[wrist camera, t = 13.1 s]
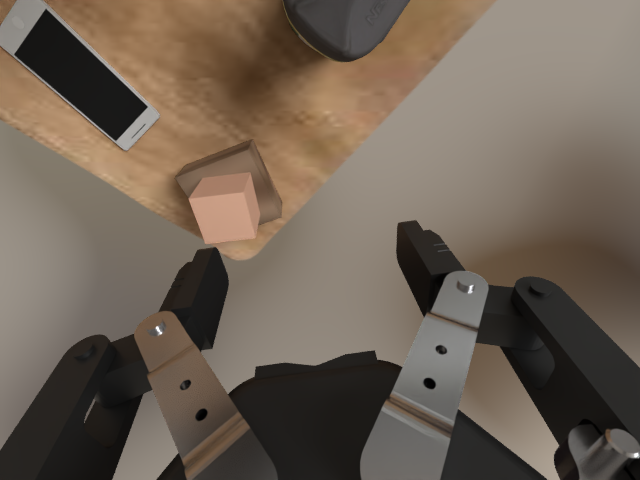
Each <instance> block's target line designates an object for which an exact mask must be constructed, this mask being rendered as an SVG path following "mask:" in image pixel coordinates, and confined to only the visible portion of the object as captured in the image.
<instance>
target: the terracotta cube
mask: <svg viewBox="0 0 640 480" xmlns="http://www.w3.org/2000/svg"><path fill="white" fill-rule="evenodd" d="M189 201H190V204H191V207H192V209H193V212H194V215H195V217H196V220H197V223H198V225H199V228H200V230H201V233H202V236H203V238H204V241H205V244H211V243H219V242H227V241H235V240H244V239H252V238H256V233H257V228H258V223H259V218H260V211H259V207H258V202H257V198H256V194H255V190H254V186H253V181H252V177H251V173H250V172H248V173H240V174H231V175H223V176H215V177H206V178H202V180H201V181H200V183H199V184H198V186H197V187H196V188H195V190H194V191H193V193H192V194H191V196H190V197H189Z"/></svg>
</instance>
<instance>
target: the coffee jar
mask: <svg viewBox="0 0 640 480" xmlns="http://www.w3.org/2000/svg"><path fill="white" fill-rule="evenodd" d="M409 1H410V0H283V6H284V10H285V13H286V15H287V18H288V21H289V24H290V26H291V28H292V30H293V31H294V32H295V33H296V35H297V36H298V37H299V38H300V39H301V40H302V41H303V42H304V43H306V44H307V45H308V46H309V47H311V48H312V49H314V50H315V51H317V52H319V53H320V54H322V55H323V56H325V57H327V58H329V59H331V60H333V61H336V62H350V61H354V60H357V59H359V58H361V57H363V56H365V55H367V54H368V53H370V52H371V51H372V50H373V49H374V48H375V47H376V46H377V45H378V44H379V43H381V42H382V41H383V40H384V39H385V37H386V36H387V34H388V32H389V31H390V29H391V28H392V26H393V25H394V23H395V22H396V20H397V19H398V18H399V16H400V14H401V13H402V11H403V10H404V8H405V7H406V6H407V4H408V3H409Z"/></svg>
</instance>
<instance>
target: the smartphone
mask: <svg viewBox="0 0 640 480" xmlns="http://www.w3.org/2000/svg"><path fill="white" fill-rule="evenodd" d="M0 46H1V47H2V48H3V49H5V50H6V51H7V52H8V53H9V54H11V55H12V56H13V57H14V58H15V59H16V60H18V61H19V62H20V63H21V64H22V65H24V66H25V67H26V68H27V69H28V70H30V71H31V72H32V73H33V74H34V75H35V76H37V77H38V78H39V79H40V80H41V81H43V82H44V83H45V84H46V85H47V86H48V87H50V88H51V89H52V90H53V91H54V92H56V93H57V94H58V95H59V96H60V97H61V98H63V99H64V100H65V101H66V102H67V103H69V104H70V105H71V106H72V107H73V108H74V109H76V110H77V111H78V112H79V113H80V114H82V115H83V116H84V117H85V118H86V119H87V120H89V121H90V122H91V123H92V124H93V125H95V126H96V127H97V128H98V129H99V130H101V131H102V132H103V133H104V134H105V135H106V136H108V137H109V138H110V139H111V140H112V141H114V142H115V143H116V144H117V145H118V146H119V147H121V148H122V149H123V150H126V151H127V150H129V149H130V148H131V147H132V146H133V145H134V144H135V143H136V142H137V141H138V139H139V138H140V137H141V136H142V135H143V134H144V133H145V132H146V131H147V130H148V129H149V128H150V127H151V126H152V125H153V124H154V123H155V122H156V121H157V120H158V119H159V118H160V114H159V112H158V111H157V110H156V109H155V108H154V107H153V106H152V105H151V104H150V103H149V102H148V101H147V100H146V99H145V98H144V97H142V96H141V95H140V94H139V93H138V92H137V91H136V90H135V89H134V88H133V87H132V86H131V85H130V84H129V83H128V82H127V81H126V80H125V79H124V78H123V77H122V76H121V75H120V74H119V73H118V72H117V71H116V70H115V69H114V68H113V67H112V66H111V65H109V64H108V63H107V62H106V61H105V60H104V59H103V58H102V57H101V56H100V55H99V54H98V53H97V52H96V51H95V50H94V49H93V48H92V47H91V46H90V45H89V44H88V43H87V42H86V41H85V40H84V39H83V38H82V37H81V36H80V35H79V34H78V33H76V32H75V31H74V30H73V29H72V28H71V27H70V26H69V25H68V24H67V23H66V22H65V21H64V20H63V19H62V18H61V17H60V16H59V15H58V14H57V13H56V12H55V11H54V10H53V9H52V8H51V7H50V6H49V5H48V4H47V3H46V2H45V1H43V0H17V1H16V2H15V4H14V5H13V7H12V8H11V10H10V12H9V13H8V15H7V16H6V18H5V19H4V21H3V22H2V24H1V25H0Z"/></svg>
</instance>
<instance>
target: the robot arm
mask: <svg viewBox="0 0 640 480" xmlns="http://www.w3.org/2000/svg"><path fill="white" fill-rule="evenodd" d="M396 253H397V260H398V264H399V266H400V268H401V270H402V272H403V274H404V276H405V279H406V281H407V283H408V285H409V287H410V289H411V291H412V293H413V295H414V297H415V299H416V302H417V304H418V306H419V308H420V310H421V312H422V314H423V316H424V320H423V322H422V324H421V327H420V329H419V331H418V333H417V336H416V338H415V340H414V343H413V345H412V347H411V349H410V352H409V354H408V356H407V358H406V361H405V363H404V366H403V367H401V366H399V365H396V364H394V363H391V362H388V361H383V360H377V357H376V354H375V351H367V352H360V353H353V354H345V355H343V356H340V357H338V358H335V359H333V360H330V361H327V362H325V363H322V364H320V365H316V366H311V365H301V364H292V363H279V364H272V365H266V366H258V367H256V370H255V377H253V378H251V379H249V380H247V381H245V382H243V383H242V384H240V385H238V386H237V387H236V388H235V389H233V390H232V391H231V392H230V393H229V394H227V392H226V391H225V389H224V388H223V386H222V385H221V383H220V382H219V380H218V379H217V377H216V376H215V374H214V372H213V371H212V369H211V368H210V366H209V365H208V363H207V362H206V360H205V358H204V357H203V355H202V354H201V350H205V349H212V348H213V344H214V340H215V337H216V333H217V329H218V325H219V321H220V317H221V314H222V310H223V306H224V302H225V298H226V295H227V291H228V285H229V280H228V274H227V272H226V269H225V266H224V264H223V261H222V258H221V256H220V253H219V251H218V249H217V248H216V247H214V248H206V249H199V250H197V252H196V254H195V256H194V259H193V261H192V262H188V263H186V264H185V265H184V266H183V267H182V268H181V269H180V270H179V272H178V274H177V276H176V278H175V281H174V282H173V284H172V286H171V288H170V290H169V292H168V294H167V296H166V298H165V300H164V302H163V304H162V306H161V308H160V310H159V312H158V313H155V314H153V315H151V316H149V317H147V318H146V319H144V320H143V321H142V322H141V323H140V324H139V325H138V327H137V328H136V330H135V333H134V334H132V335H130V336H127V337H124V338H122V339H119V340H116V341H114V342H110V340H109V339H108V338H107V337H106V336H104V335H94V336H90V337H87V338H85V339H83V340H81V341H79V342H78V343H76V344H75V345H73V346H72V347H71V348H70V349H69V350H68V351H67V352H66V353H65V355H64V356H63V357H62V359H61V360H60V362H59V363H58V365H57V366H56V368H55V369H54V371H53V372H52V374H51V375H50V377H49V378H48V380H47V381H46V383H45V384H44V386H43V387H42V389H41V390H40V392H39V393H38V395H37V396H36V398H35V399H34V401H33V402H32V404H31V405H30V407H29V408H28V410H27V411H26V413H25V414H24V416H23V417H22V419H21V420H20V422H19V423H18V425H17V426H16V428H15V429H14V431H13V432H12V434H11V435H10V437H9V438H8V440H7V441H6V443H5V444H4V446H3V447H2V449H1V450H0V480H112V479H113V475H114V473H115V470H116V468H117V465H118V462H119V459H120V457H121V454H122V451H123V448H124V446H125V443H126V440H127V437H128V435H129V432H130V429H131V427H132V424H133V421H134V418H135V416H136V413H137V410H138V407H139V405H140V402H141V399H142V396H143V394H144V393H146V392H148V391H151V390H153V392H154V394H155V397H156V399H157V401H158V404H159V406H160V409H161V411H162V414H163V416H164V418H165V420H166V423H167V425H168V428H169V430H170V432H171V435H172V437H173V440H174V442H175V445H176V447H177V449H178V452H179V453H178V454H177V455H176V457H175V458H174V459H173V460H172V462H171V463H170V464H169V465H168V466H167V467H166V469H165V470H164V471H163V472H162V474H161V475H160V476H159V477H158V478H157V480H547V479H546V478H545V477H544V476H543V475H541V474H540V473H539V472H538V471H536V470H535V469H534V468H532V467H531V466H530V465H529V464H527V463H526V462H525V461H523V460H522V459H521V458H520V457H518V456H517V455H516V454H515V453H513V452H512V451H511V450H510V449H508V448H507V447H506V446H504V445H503V444H502V443H501V442H499V441H498V440H497V439H495V438H494V437H493V436H492V435H490V434H489V433H488V432H486V431H485V430H484V429H483V428H482V427H480V426H479V425H478V424H476V423H475V422H474V421H473V420H471V419H470V418H469V417H468V416H466V415H465V414H464V413H462V412H461V411H460V410H459V409H458V407H459V403H460V399H461V395H462V391H463V388H464V383H465V380H466V375H467V372H468V368H469V364H470V360H471V357H472V353H473V349H474V345H475V343H482V344H490V345H497V346H500V348H501V349H502V351H503V353H504V354H505V356H506V357H507V359H508V361H509V363H510V364H511V366H512V368H513V369H514V371H515V373H516V374H517V376H518V378H519V379H520V381H521V383H522V384H523V386H524V387H525V389H526V391H527V392H528V394H529V396H530V397H531V399H532V401H533V402H534V404H535V406H536V407H537V409H538V411H539V412H540V414H541V416H542V417H543V419H544V421H545V422H546V424H547V426H548V427H549V429H550V431H551V432H552V434H553V436H554V437H555V439H556V441H557V442H558V444H559V447H558V448H557V450H556V451H555V454H554V465H555V468H556V471H557V473H558V476H559V478H560V480H640V368H639V367H638V366H637V364H636V363H635V362H634V361H632V360H631V359H630V358H629V356H628V355H627V354H626V353H625V352H623V350H622V349H621V348H620V347H619V346H618V345H617V344H616V343H615V342H614V341H613V340H612V339H611V338H610V337H609V336H608V335H607V334H606V333H605V332H604V331H603V330H602V329H601V328H600V327H599V326H598V325H597V324H596V323H595V322H594V321H593V320H592V319H591V318H590V317H589V316H588V315H587V314H586V313H585V312H584V311H583V310H582V309H581V308H580V307H579V306H578V305H577V304H576V303H575V302H574V301H573V300H572V299H571V298H570V297H569V296H568V295H567V294H566V293H565V292H564V291H563V290H562V289H561V288H560V287H559V286H557V285H556V284H554V283H553V282H551V281H549V280H546V279H543V278H539V277H523V278H520V279H519V280H517V281H516V283H515V286H514V287H503V286H493V285H488V284H487V282H486V281H485V280H484V279H483V278H482V277H480V276H479V275H477V274H475V273H472V272H468V271H466V270H465V269H464V268H463V266H462V265H461V264H460V262H459V261H458V260H457V259H456V257H455V256H454V255H453V253H452V252H451V251H450V250H449V248H448V247H447V245H445V243H444V241H443V240H442V239H441V237H440V236H439V235H437V234H436V233H434V232H432V231H431V230H425V231H423V229H422V228H421V226H420V225H419V223H418V222H417V221H415V220H414V221H407V222H401V223H398V226H397V248H396ZM93 399H95V400H96V401H95V403H94V405H93V407H92V409H91V411H90V413H89V415H88V417H87V419H86V421H85V423H84V419H85V416H86V413H87V411H88V409H89V407H90V405H91V403H92V401H93Z"/></svg>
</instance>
